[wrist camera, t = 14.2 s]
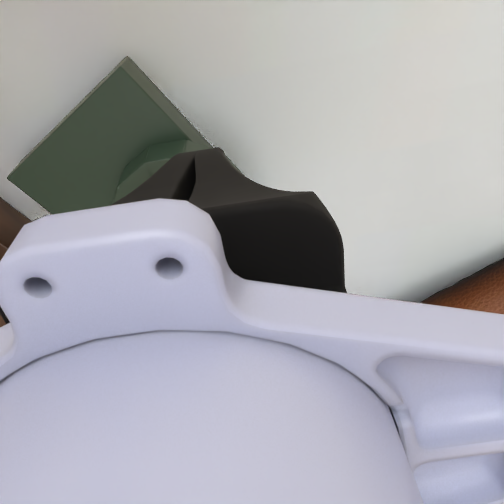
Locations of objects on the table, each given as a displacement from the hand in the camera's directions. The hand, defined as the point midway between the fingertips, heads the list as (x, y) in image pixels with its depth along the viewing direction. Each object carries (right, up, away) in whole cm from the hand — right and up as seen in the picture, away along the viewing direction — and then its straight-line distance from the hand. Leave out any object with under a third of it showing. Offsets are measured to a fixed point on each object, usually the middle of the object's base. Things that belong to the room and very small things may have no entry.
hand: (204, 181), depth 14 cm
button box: (-4, +2, +11) cm, 12 cm away
